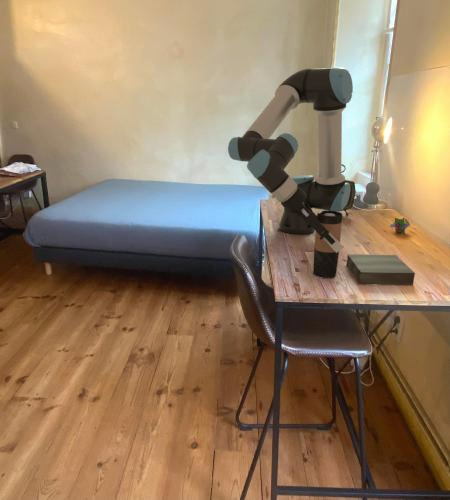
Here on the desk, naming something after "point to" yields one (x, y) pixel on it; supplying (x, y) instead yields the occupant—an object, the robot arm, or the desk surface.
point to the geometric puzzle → (400, 225)
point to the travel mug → (327, 245)
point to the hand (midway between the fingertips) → (335, 243)
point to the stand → (380, 269)
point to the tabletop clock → (352, 194)
